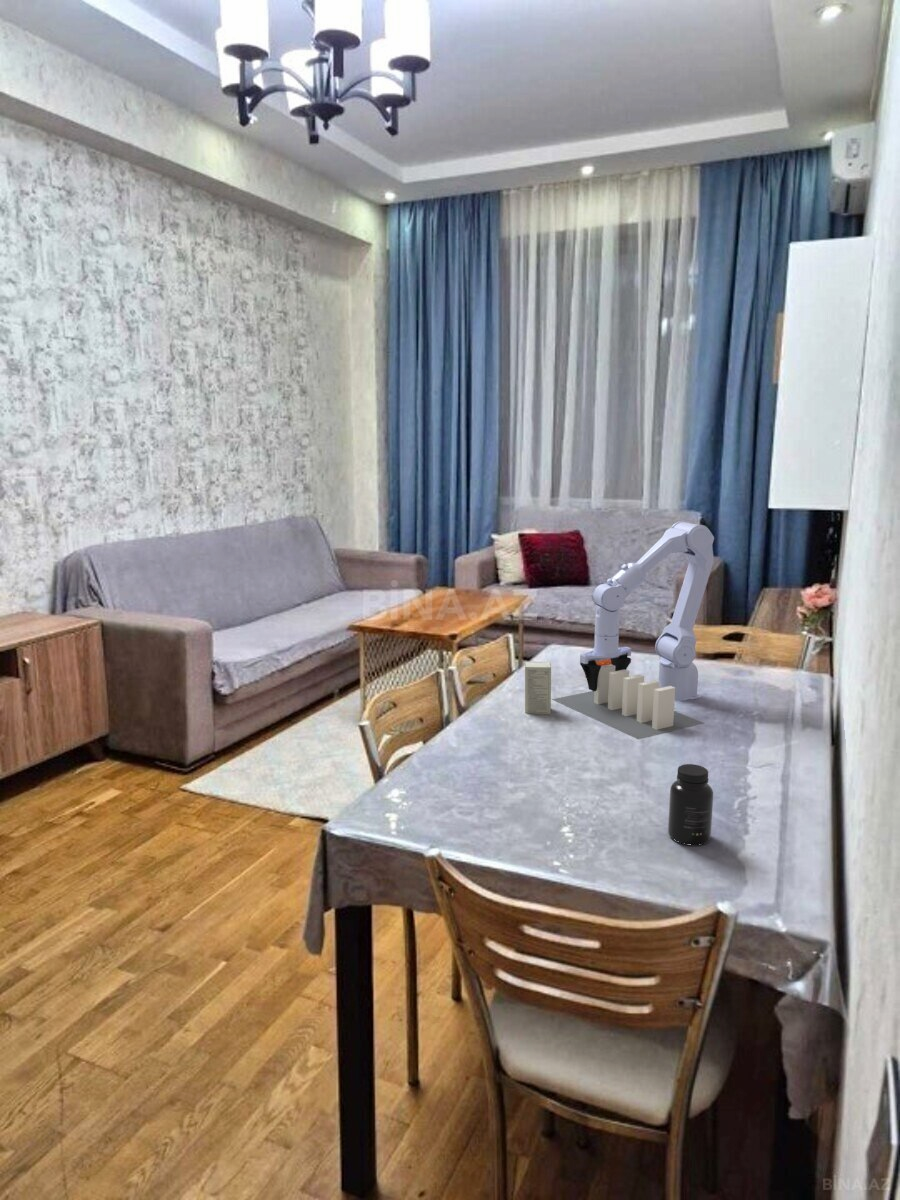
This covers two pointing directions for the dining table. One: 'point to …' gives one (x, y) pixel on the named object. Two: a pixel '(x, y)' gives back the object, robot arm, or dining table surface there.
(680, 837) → the supplement bottle
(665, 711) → the domino
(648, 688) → the domino
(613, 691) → the domino
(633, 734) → the mat
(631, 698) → the domino
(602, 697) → the domino
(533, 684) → the skincare box
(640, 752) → the dining table surface
